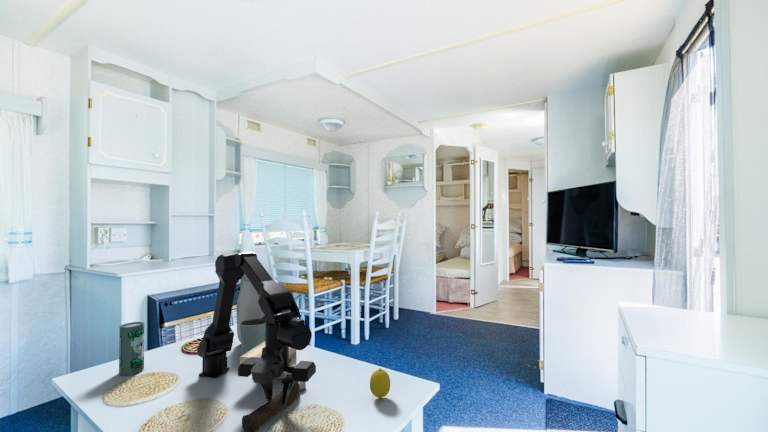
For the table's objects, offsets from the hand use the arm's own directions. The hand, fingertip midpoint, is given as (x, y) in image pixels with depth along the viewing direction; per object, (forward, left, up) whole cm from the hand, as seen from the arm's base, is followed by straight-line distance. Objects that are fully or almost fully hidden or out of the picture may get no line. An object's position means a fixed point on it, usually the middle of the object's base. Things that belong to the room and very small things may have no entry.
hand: (277, 402), depth 85 cm
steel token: (0, +11, -2) cm, 12 cm away
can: (-58, +12, -2) cm, 59 cm away
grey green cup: (-27, +32, -2) cm, 42 cm away
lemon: (+24, +10, -2) cm, 27 cm away
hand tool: (-1, -1, -2) cm, 2 cm away
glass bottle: (-35, +42, -2) cm, 55 cm away
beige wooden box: (-10, +14, -2) cm, 17 cm away
